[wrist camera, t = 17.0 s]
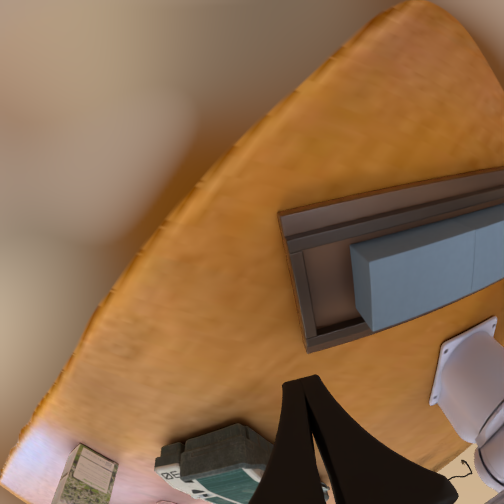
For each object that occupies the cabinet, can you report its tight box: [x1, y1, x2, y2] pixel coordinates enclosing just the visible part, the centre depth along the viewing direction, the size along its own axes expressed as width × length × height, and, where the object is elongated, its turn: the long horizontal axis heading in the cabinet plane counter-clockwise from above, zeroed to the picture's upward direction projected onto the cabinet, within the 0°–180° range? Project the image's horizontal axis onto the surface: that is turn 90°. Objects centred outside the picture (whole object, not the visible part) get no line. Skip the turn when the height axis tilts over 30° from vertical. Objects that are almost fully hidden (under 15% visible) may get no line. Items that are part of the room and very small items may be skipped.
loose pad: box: [350, 219, 475, 332], centre depth 16 cm, size 5×8×3 cm, turn 103°
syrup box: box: [51, 444, 118, 504], centre depth 19 cm, size 6×6×14 cm
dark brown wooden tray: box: [277, 167, 504, 354], centre depth 18 cm, size 10×21×2 cm, turn 104°
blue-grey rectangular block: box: [450, 203, 504, 293], centre depth 16 cm, size 5×8×3 cm, turn 104°
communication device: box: [154, 423, 330, 504], centre depth 23 cm, size 12×24×9 cm, turn 31°
